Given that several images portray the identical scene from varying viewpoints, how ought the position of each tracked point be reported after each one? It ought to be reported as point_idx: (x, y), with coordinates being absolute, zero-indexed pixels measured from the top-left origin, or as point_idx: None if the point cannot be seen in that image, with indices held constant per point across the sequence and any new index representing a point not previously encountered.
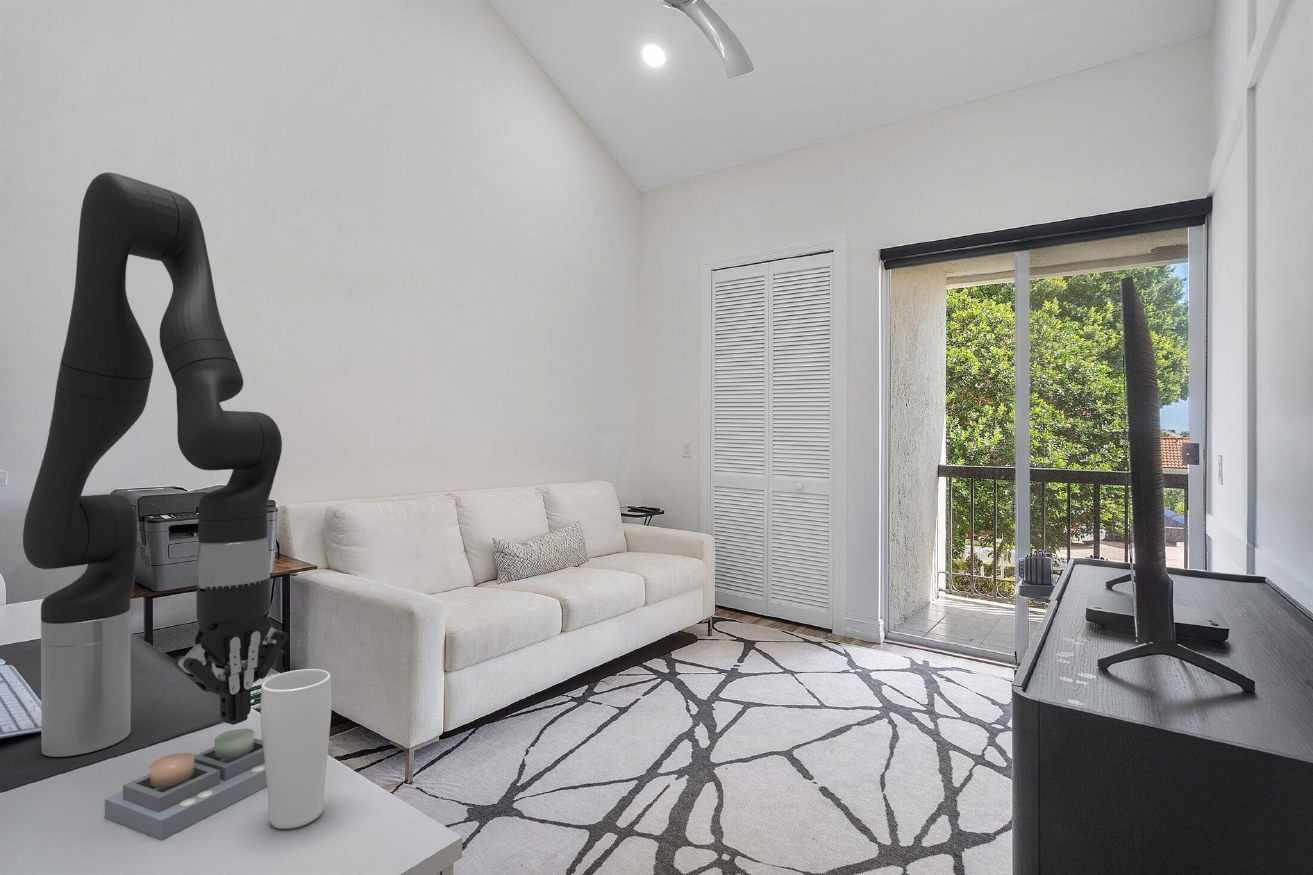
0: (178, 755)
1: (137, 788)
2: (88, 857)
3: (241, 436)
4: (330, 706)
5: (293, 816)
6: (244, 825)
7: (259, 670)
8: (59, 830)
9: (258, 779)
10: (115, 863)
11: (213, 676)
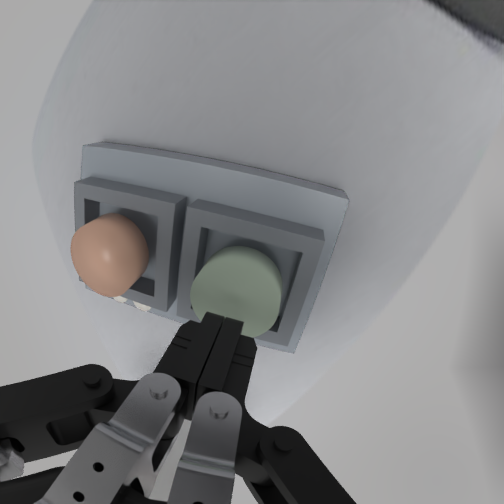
0: (116, 253)
1: (77, 220)
2: (56, 219)
3: None
4: None
5: None
6: (159, 346)
7: (247, 486)
8: (70, 115)
9: None
10: (63, 260)
11: (66, 447)
